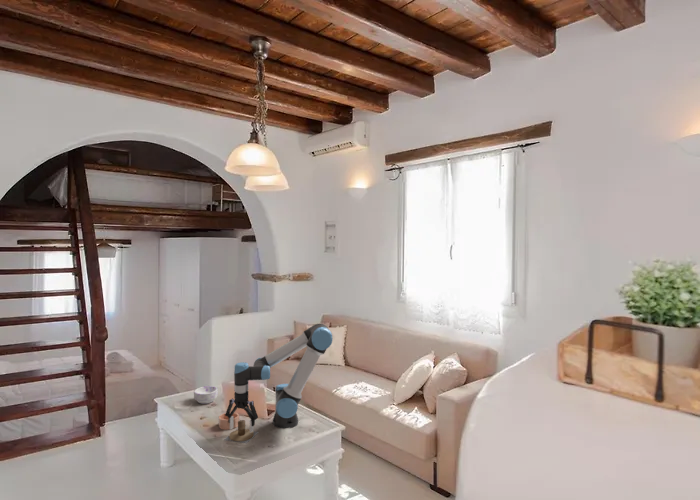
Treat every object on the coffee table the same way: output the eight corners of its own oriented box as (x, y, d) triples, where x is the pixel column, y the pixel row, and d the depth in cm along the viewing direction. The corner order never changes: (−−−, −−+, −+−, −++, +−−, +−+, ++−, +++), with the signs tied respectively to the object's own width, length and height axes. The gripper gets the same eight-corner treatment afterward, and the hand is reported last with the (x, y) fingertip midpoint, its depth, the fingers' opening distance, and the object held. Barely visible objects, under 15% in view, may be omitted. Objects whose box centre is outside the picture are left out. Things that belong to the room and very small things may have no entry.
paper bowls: (190, 405, 283) (190, 393, 283) (199, 397, 298) (199, 385, 298) (213, 405, 282) (213, 393, 282) (220, 397, 297) (220, 386, 297)
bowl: (242, 423, 255) (242, 413, 255) (232, 431, 245) (232, 421, 245) (225, 421, 258) (225, 411, 258) (215, 429, 248) (215, 418, 248)
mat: (259, 433, 243) (259, 432, 243) (246, 444, 229) (246, 443, 229) (237, 430, 247) (237, 428, 247) (223, 441, 233) (223, 439, 233)
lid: (257, 432, 243) (257, 418, 242) (246, 442, 230) (246, 428, 230) (237, 429, 246) (237, 415, 246) (224, 439, 234) (224, 425, 233)
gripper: (264, 391, 238) (264, 429, 238) (226, 386, 244) (226, 424, 245) (257, 395, 230) (257, 435, 231) (218, 391, 237) (218, 430, 238)
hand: (241, 430), depth 238 cm, fingers open, 12 cm apart
